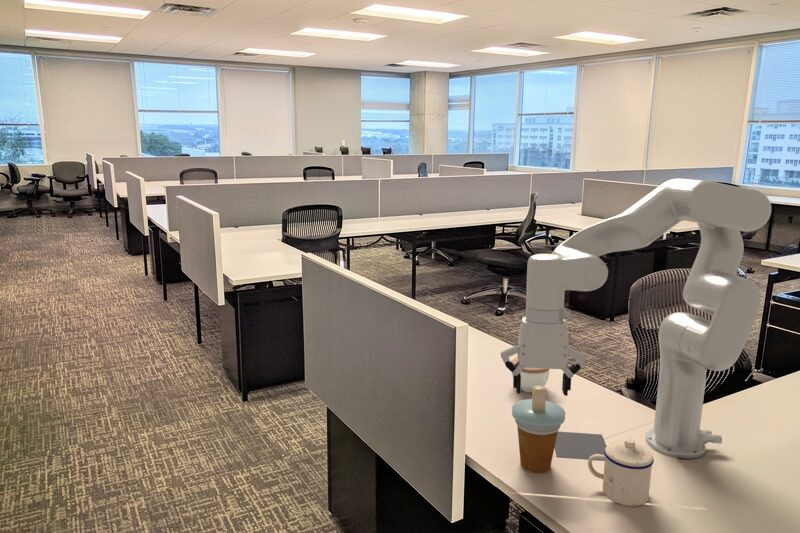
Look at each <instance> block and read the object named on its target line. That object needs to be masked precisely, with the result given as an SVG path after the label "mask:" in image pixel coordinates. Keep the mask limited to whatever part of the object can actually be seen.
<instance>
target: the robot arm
mask: <svg viewBox="0 0 800 533" xmlns="http://www.w3.org/2000/svg"><path fill="white" fill-rule="evenodd" d="M771 214H772V204H771V200H770V199H769V197H768V196H767V195H766V194H765V193H764V192H762V191H759V190H758V189H752V188H746V187H741V186H736V185H735V186H734V185H730V184H725V183H720V182H716V181H711V180H707V179H705V180H704V179H692V178H682V177H681V178H679V177H678V178H671V179H668V180H666V181H665V182H663V183H661V184H660V185H658V186H657V187H656V188H654V189H652V191H650V192H648V193H647V194H646V195H645V196H643V197H642V198H640V199H639V200H638V201H637V202H635V203H634V204H633V205H631V206H629V207H628V208H627V209H626V210H624V211H623V212H621V213H620V214H617V215H615V216H612V217H609V218H607V219H604V220H602V221H600V222H597V223H594V224H592V225H589V226H587V227H585V228H583V229H581V230H579V231H578V232H576V233H574V234H572V235H571V236H570V237H568V238H567V239H566V240H564V241H563V242H561V243H560V244H559V245H558V246H557V247H555V249H553V251H552V252H551V253H537V254H533V255H531V256H529V258H528V259H527V269H526V292H525V293H526V296H525V297H526V299H525V317H524V316H523V317H522V318H521V320H520V326H519V332H518V340H517V345H514V346H512V347H510V348H507V349H505V350H503V351H501V352H500V357H501V359H502V362H503V363H504V365H505V367H506V368H507V369H508V370H509V371H510V372H511V374H512V373H513V376H512V379H513V380H512V387H513V389H515V390H516V394H519V395H520V394H521V390H520V389H521V374H520V372H521V371H522V370H523V369H524V368H540V369H549V370H562V371H563V373H562V381H561V382H562V384H561V389H562V390H561V391H562V393H563V395H564V396H565V397H567V396H568V395H569V394H568V393H569V391H571V389H572V388H571V387H572V378H573V377H574V375H576V374H577V373H578V372H579V371H580V370H581V369H582V366H583V365H584V364H585V362H586V360H587V357H586V355H585V354H583V353H582V352H580V351H577V350H575V349H574V348H572V347H570V346H569V330H568V326H567V320H566V319H565V318H566V317H571V316H572V309H570V308H569V309H567V308H566V307H565V293H566V292H565V291H576V292H592V291H596V290H597V289H599V288H601V287H603V285H605V283H606V282H607V280H608V275H609V269H608V266H607V264H606V263H605V262H604V260H602V259H601V258H600V257H601V256H604V255H607V254H610V253H615V252H616V253H617V252H624V251H634V250H638V249H642V248H646V247H648V246H650V245H651V244H652V243H653V242H654V241H656V240H657V239H659V238H660V237H661V236H663V235H664V234H665V233H667V232H668V231H669V230H671V229H672V228H673V227H675V226H677V224H679V223H680V222H684V221H686V222H690V223H691V222H692V223H696V224H697V226H698V230H699V232H700V233H699V234H700V246H699V249H698V252H697V254H696V257H695V260H694V261H693V265H692V267H691V269H690V271H689V274H688V276H687V279H686V282H685V284H684V286H683V290H682V296H683V297H682V298H683V300H684V303H686V304H687V305H688V306H690V307H692V308H694V309H696V310H698V311H701V312H703V313H706V314H708V315H711V316H712V318H711V320H709V319H706V318H703V317H701V316H698V315H695V314H692V313H689V312H682V311H681V312H680V311H679V312H677V311H676V312H673V313H670V314H668V315H666V317H664V319H663V320H662V322H661V323H660V325H659V329H658V345H659V356H660V357H659V358H660V360H659V373H658V374H659V375H658V384H657V394H656V402H655V403H656V404H655V412H654V422H653V423H654V424H653V428H652V429H649V430H648V431H647V432H646V435H645V442H646V443H647V445H648V446H650V448H652V449H653V450H655V451H657V452H659V453H661V454H664V455H666V456H670V457H674V458H678V459H687V460H688V459H695V458H699V457H702V456H703V455H704V454H705V453H706V445H707V444H708V443H710V444H711V443H712V444H720V445H721V444H722V442H723V437H722V435H721V434H713V433H712V430H707V429H706V430H705V429H704V430H703V429H701V423H702V415H703V414H702V413H703V406H704V396H705V389H706V385H707V384H706V382H707V381H706V380H707V373H706V369H707V370H710V371H714V372H722V371H726V370H728V369H729V368H731V367H732V366H733V365H734V364H735V363H736V362H737V360H738V359H739V357H740V355H741V354H742V352H743V350H744V347H745V345H746V343H747V341H748V338H749V336H750V334H751V331H752V329H753V327H754V324H755V322H756V319H757V316H758V315H759V312H760V308H761V302H762V301H761V300H762V299H761V291H760V289H759V287H758V286H757V285H756V283H755V282H753V281H752V280H751V279H748V278H746V277H743V276H739V275H737V274H738V270H739V267H740V265H741V262H742V259H743V257H744V252H745V251H744V250H745V248H744V247H745V246H744V240H743V236H742V233H741V232H745V233H746V232H747V233H748V232H753V231H754V232H755V231H756V230H759V229H761V228H763V226H765V225H766V224H767V222H768V221H769V219H770V217H771ZM516 354H517V357H518V359H519V360H518V362H517V363H516V364H515V365H514V364H513V363H512V360H510V357H512V356H514V355H516ZM569 356H570V357H572V358H575V359H576V360H575V362H573V364H571V365H570V366H569V360H570V358H569Z"/></svg>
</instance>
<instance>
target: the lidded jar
mask: <svg viewBox="0 0 800 533" xmlns="http://www.w3.org/2000/svg"><path fill="white" fill-rule="evenodd" d="M518 360H519V359H518V356H517V357H515V358H513V359H512V360H511V362H512V363H513V364H514V365H515V364H516V363H517V362H518ZM520 374H521V390H520V391H522V390H523V391H522V392H525V391H526V392H525V393H533V387H534V386H544V387H545V386H546V384H547V383H548V380H549V376H550V369H540V368H524V369H523V370H522V371H521V372H520ZM511 376H512V377H513V373H512V372H511Z"/></svg>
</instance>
